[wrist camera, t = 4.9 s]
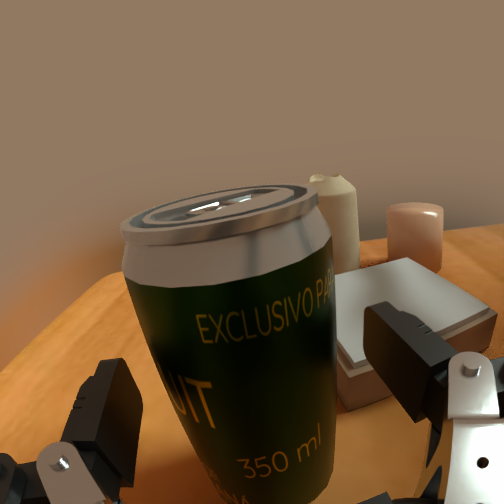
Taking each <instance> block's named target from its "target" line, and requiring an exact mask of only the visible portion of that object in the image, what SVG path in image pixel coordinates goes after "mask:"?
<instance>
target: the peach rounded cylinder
mask: <svg viewBox="0 0 504 504" xmlns="http://www.w3.org/2000/svg"><path fill="white" fill-rule="evenodd" d="M386 211H387V249H388V262H390V261H394V260H398V259H402V258H406V257H408V258H409V259H411V260H413V261H415V262H416V263H418V264H420V265H422V266H423V267H425V268H427V269H429V270H430V271H432V272H434V273H437V272H439V271H440V269H441V263H442V247H443V208H442V207H440V206H438V205H434V204H429V203H418V202H409V203H399V204H394V205H391V206H389V207H387V208H386Z"/></svg>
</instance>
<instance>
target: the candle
mask: <svg viewBox="0 0 504 504" xmlns="http://www.w3.org/2000/svg"><path fill="white" fill-rule="evenodd" d="M305 184H306V185H310V186H313V187H316V189H317V192H318V200H319V204H317V205H316V206H317V207H318V209H319V210H320V212H321V214H322V215H323V217H324V219H325V220H326V222H327V223H328V225H329V228H330V231H331V233H332V243H333V257H334V274H335V275H338V274H342V273H346V272H350V271H354V270H358V269H360V247H359V230H358V229H359V228H358V213H357V199H356V189H355V188H354V187H353V186H352V185H351V184H350V183H349V182H347V181H346V180H345V179H344V178H343V177H341V175H340V174H338V173H337V174H334V175H332V176H330V177H325V176H323V175H320V174H316V175H313V176H311V177H310V179H309V180H308V181H307V182H306V183H305Z"/></svg>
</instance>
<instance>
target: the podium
mask: <svg viewBox="0 0 504 504" xmlns="http://www.w3.org/2000/svg"><path fill="white" fill-rule="evenodd" d="M335 293H336V322H337V395H338V396H339V398H340V400H341V402H342V404H343V405H344V407H345V409H346V411H347V412H348V411H351V410H354V409H357V408H360V407H363V406H365V405H368V404H371V403H373V402H376V401H379V400H381V399H384V398H386V397H389V396H391V395H393V393H392V392H391V391H390V389H389V388H388V387H387V386H386V384H385V383H384V382H383V380H382V379H381V378H380V376H379V375H378V374H377V373H376V371H375V370H374V369H373V367H372V366H371V365H370V363H369V362H368V361H367V359H366V357H365V354H364V350H363V324H364V310H365V308H366V307H367V306H371V305H374V304H377V303H381V302H384V301H387V302H389V303H390V304H391V305H393V306H394V307H395V308H396V309H397V310H398V311H405V312H408V313H410V314H413V315H415V316H417V317H418V318H419V319H420V320H421V321H423V322H424V323H425V325H427V326H429V327H430V328H431V329H432V331H433V332H436V333H437V334H438V335H439V336H440V337H442V338H443V339H444V340H445V341H446V342H447V343H449V344H450V345H451V346H452V347H453V348H454V349H455V350H457V351H458V352H459V353H461V352H477V353H479V352H480V351H482V350H484V349H485V348H487V347H489V345H490V342H491V338H492V334H493V330H494V327H495V323H496V319H497V314H498V313H497V312H495V311H494V310H492V309H491V308H489V306H488V305H486V304H484V303H483V302H481V301H480V300H478V299H477V298H475V297H473V296H472V295H470V294H469V293H467V292H465V291H464V290H462V289H460V288H459V287H457V286H455V285H454V284H452V283H451V282H449V281H447V280H446V279H444V278H442V277H440V276H439V275H437V274H435V273H434V272H432V271H430V270H429V269H427V268H425V267H423V266H422V265H420V264H418V263H416V262H415V261H413V260H411V259H409V258H408V257H406V258H402V259H398V260H394V261H390V262H386V263H383V264H379V265H375V266H371V267H367V268H363V269H358V270H354V271H350V272H346V273H342V274H338V275H335Z"/></svg>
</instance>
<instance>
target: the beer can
mask: <svg viewBox="0 0 504 504" xmlns="http://www.w3.org/2000/svg"><path fill="white" fill-rule="evenodd" d="M317 204H319V200H318V192H317V189H316V187H313V186H310V185H306V184H292V183H283V184H263V185H252V186H244V187H236V188H230V189H223V190H218V191H213V192H207V193H202V194H198V195H194V196H190V197H185V198H181V199H177V200H174V201H171V202H167V203H164V204H161V205H158V206H155V207H152V208H150V209H147V210H144V211H141V212H139V213H137V214H135V215H133V216H131V217H130V218H127V219H126V220H125V221H124V222H123V223H121V224H120V229H121V232H122V236H123V238H124V240H125V242H126V243H125V248H124V254H123V261H122V266H121V267H122V270H123V274H124V277H125V280H126V284H127V287H128V290H129V293H130V296H131V299H132V302H133V305H134V308H135V311H136V314H137V317H138V320H139V323H140V326H141V328H142V331H143V334H144V336H145V339H146V342H147V344H148V347H149V350H150V352H151V355H152V357H153V360H154V362H155V365H156V367H157V370H158V372H159V375H160V377H161V379H162V382H163V384H164V386H165V389H166V391H167V393H168V396H169V398H170V400H171V402H172V404H173V407H174V409H175V411H176V413H177V415H178V417H179V419H180V422H181V424H182V426H183V428H184V430H185V432H186V434H187V436H188V438H189V440H190V442H191V444H192V446H193V448H194V449H195V451H196V453H197V455H198V457H199V459H200V461H201V463H202V464H203V466H204V468H205V470H206V472H207V473H208V475H209V477H210V479H211V480H212V482H213V484H214V486H215V487H216V489H217V491H218V492H219V494H220V496H221V497H222V498H223V499H224V500H225V501H227V502H228V503H229V504H308V503H310V502H312V501H313V500H315V499H316V498H317V497H318V495H319V494H320V493H321V492H322V491H323V490H324V489H325V488H326V486H327V485H328V482H329V480H330V477H331V474H332V472H333V464H334V450H335V431H336V405H337V322H336V293H335V274H334V257H333V243H332V233H331V231H330V228H329V225H328V223H327V222H326V220H325V219H324V217H323V215H322V214H321V212H320V210H319V209H318V207H317V206H316V205H317Z"/></svg>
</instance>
